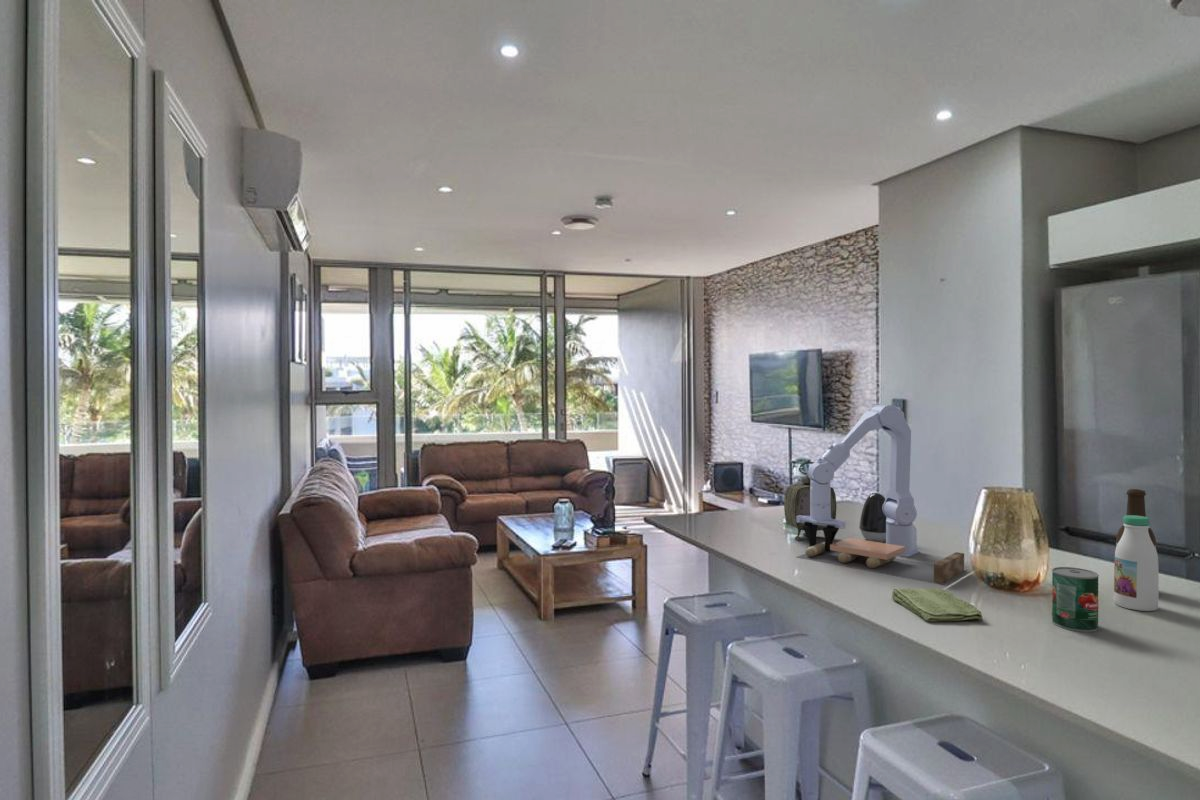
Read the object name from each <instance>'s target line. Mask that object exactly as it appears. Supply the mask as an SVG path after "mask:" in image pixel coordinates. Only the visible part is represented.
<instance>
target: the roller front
mask: <svg viewBox="0 0 1200 800" xmlns="http://www.w3.org/2000/svg"><path fill="white" fill-rule="evenodd" d="M895 558H897V556H895V557H892V558H890V559H888V560H885V559H879V558H873V557H870V558H868V559H867V561H866V564H867V566H868V567H869V568H872V569H873V568H876V567H879V566H881V565H883V564H885V563H887V562H890V561H892V560H894V559H895Z"/></svg>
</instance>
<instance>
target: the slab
mask: <svg viewBox="0 0 1200 800" xmlns="http://www.w3.org/2000/svg"><path fill="white" fill-rule="evenodd" d="M830 550H833V551H839V552H844V553H850V554H856V555H862V556H868V557H873V558H879V559H885V560H888V559H890V558H892V557H895V556H896V557H897V556H900V555H899V554H901V553H904V552H905V546H899V545H893V544H887V543H886V542H874V541H869V540H867V539H860V538H854V537H847V538H845V539H842V540H839V541H837V542H834V543H833V544H831V545H830Z"/></svg>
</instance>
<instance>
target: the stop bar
mask: <svg viewBox="0 0 1200 800" xmlns="http://www.w3.org/2000/svg"><path fill="white" fill-rule="evenodd" d="M933 565H934V582H937V583H944V582H946V581H948V580H949V579H951V578H953V577H954V576H956V575H958V574H960V573H961V572H963V571H964V570H965V553H964V552H958V551H957V552H954V553H952V554H950V555H947V556H945V557H943V558H941V559H940V560H938V561H935V562H934V563H933Z"/></svg>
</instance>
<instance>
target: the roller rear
mask: <svg viewBox="0 0 1200 800" xmlns="http://www.w3.org/2000/svg"><path fill="white" fill-rule="evenodd" d="M859 557H862V555H856V554H850V553H844V552H841V553H840V554H839V555H838V560H839V561H840V562H841V563H847V562H850V561H852V560H855V559H857V558H859Z"/></svg>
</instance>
